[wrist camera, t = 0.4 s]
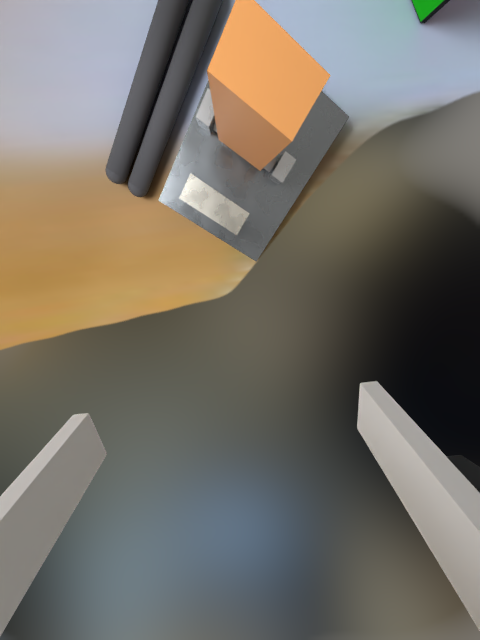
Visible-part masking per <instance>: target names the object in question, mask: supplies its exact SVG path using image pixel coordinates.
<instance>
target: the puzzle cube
mask: <svg viewBox="0 0 480 640" xmlns="http://www.w3.org/2000/svg"><path fill="white" fill-rule="evenodd" d="M448 1H450V0H412V2H413V5H414V7H415V10H416V12H417V15H418V17H419V20H420V22H421V23H425V22H426V21H427V20H428V19H430V18H431V17H432V16H433V15H434V14H435V13H436V12H437V11H438V10H440V9H441V8H442V7H443V6H444V5H445V4H446V3H447V2H448Z"/></svg>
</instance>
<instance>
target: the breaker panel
mask: <svg viewBox="0 0 480 640" xmlns="http://www.w3.org/2000/svg"><path fill="white" fill-rule="evenodd" d="M348 118H349V116H347V115H346V114H345V113H344V112H343V111H342V110H341V109H340V108H339V107H338V106H337V105H336V104H335V103H334V102H333V101H332V100H331V99H329V98H328V97H327V96H326V95H325V94H324V93H323V92H322V91H321V92H320V94H319V96H318V98H317V99H316V101H315V103H314V104H313V106H312V108H311V110H310V111H309V113H308V115H307V117H306V118H305V120H304V122H303V123H302V125H301V127H300V129H299V130H298V132H297V134H296V136H295V137H294V139H293V141H292V142H291V143H290V144H289V145H288V146H287V147H286V148H284V149H283V150H282V151H281V152H280V153H279V154H278V155H279V157H278V159H277V161H276V163H275V165H274V166H273V168H272V169H271V171H270V172H268V171H267V170H265V169H264V168H263V169H262V170H261V171H259V170H258V169H257V168H255V167H254V166H253V165H251V164H250V163H249V162H247V161H246V160H245V159H244V158H242V157H241V156H240V155H238V154H237V153H236V152H234V151H233V150H232V149H230V148H229V147H228V146H226V145H225V144H224V143H222V142H221V141H220V140H218V134H217V132H215V131H214V130H213V127H214V124H215V116H214V110H213V104H212V98H211V92H210V86H209V80H208V83H207V85H206V87H205V90H204V92H203V95H202V97H201V99H200V102H199V104H198V107H197V109H196V111H195V114H194V116H193V119H192V121H191V123H190V126H189V128H188V131H187V133H186V135H185V138H184V140H183V143H182V145H181V148H180V150H179V152H178V155H177V157H176V160H175V162H174V164H173V167H172V169H171V172H170V174H169V176H168V179H167V181H166V184H165V186H164V188H163V191H162V193H161V196H160V198H159V201H160V202H162V203H163V204H165V205H167V206H168V207H170V208H171V209H173V210H175V211H176V212H178V213H179V214H181V215H183V216H184V217H186V218H187V219H189V220H191V221H192V222H194V223H195V224H197V225H199V226H200V227H202V228H203V229H205V230H207V231H208V232H210V233H211V234H213V235H215V236H216V237H218V238H219V239H221V240H223V241H224V242H226V243H227V244H229V245H231V246H232V247H234V248H235V249H237V250H239V251H240V252H242V253H243V254H245V255H247V256H248V257H250V258H251V259H253V260H255V261H257V260H258V258H259V257H260V255H261V254H262V252H263V250H264V249H265V247H266V246H267V244H268V243H269V241H270V239H271V238H272V236H273V235H274V233H275V232H276V230H277V229H278V227H279V225H280V224H281V222H282V221H283V219H284V218H285V216H286V214H287V213H288V211H289V210H290V208H291V207H292V205H293V204H294V202H295V200H296V199H297V197H298V196H299V194H300V193H301V191H302V189H303V188H304V186H305V185H306V183H307V182H308V180H309V179H310V177H311V175H312V174H313V172H314V171H315V169H316V168H317V166H318V164H319V163H320V161H321V160H322V158H323V157H324V155H325V154H326V152H327V150H328V149H329V147H330V146H331V144H332V143H333V141H334V139H335V138H336V136H337V135H338V133H339V132H340V130H341V129H342V127H343V125H344V124H345V122H346V121H347V119H348Z"/></svg>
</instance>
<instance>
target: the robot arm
mask: <svg viewBox="0 0 480 640" xmlns="http://www.w3.org/2000/svg"><path fill="white" fill-rule="evenodd" d="M357 429H358V430H359V432H360V433H361V435H362V437H363V438H364V440H365V442H366V443H367V445H368V447H369V448H370V450H371V452H372V453H373V455H374V457H375V458H376V460H377V461H378V463H379V465H380V467H381V468H382V470H383V472H384V473H385V475H386V477H387V478H388V480H389V481H390V483H391V485H392V486H393V488H394V490H395V491H396V493H397V495H398V496H399V498H400V500H401V501H402V503H403V505H404V506H405V508H406V510H407V511H408V513H409V514H410V516H411V518H412V520H413V521H414V523H415V525H416V526H417V528H418V530H419V531H420V533H421V534H422V536H423V538H424V539H425V541H426V543H427V544H428V546H429V548H430V549H431V551H432V553H433V554H434V556H435V558H436V559H437V561H438V563H439V564H440V566H441V568H442V569H443V571H444V573H445V574H446V576H447V578H448V579H449V581H450V582H451V584H452V586H453V587H454V589H455V591H456V592H457V594H458V596H459V597H460V599H461V601H462V602H463V604H464V606H465V607H466V609H467V610H468V612H469V614H470V616H471V617H472V619H473V620H474V622H475V624H476V625H477V627H478V629H479V631H480V467H478V466H477V465H475V464H473V463H472V462H471V461H469V460H468V459H466V458H465V457H463V456H462V455H457V456H447V457H446V456H445V455H444V454H443V453H442V452H441V450H440V449H439V448H438V447H437V446H436V445H435V444H434V443H433V442H432V441H431V440H430V438H429V437H428V436H427V435H426V434H425V433H424V432H423V431H422V430H421V429H420V428H419V427H418V425H417V424H416V423H415V422H414V421H413V420H412V419H411V418H410V417H409V416H408V415H407V413H406V412H405V411H404V410H403V409H402V408H401V407H400V406H399V405H398V404H397V403H396V402H395V400H393V398H392V397H391V396H390V395H389V394H388V393H387V392H386V391H385V390H384V389H383V388H382V386H381V385H380V384H379V383H378V382H377V381H375V382H366V383H360V393H359V409H358V424H357ZM106 454H107V453H106V451H105V448H104V446H103V444H102V442H101V440H100V437H99V435H98V433H97V431H96V429H95V426H94V424H93V422H92V420H91V417H90V415H89V413H85V414H76V415H73V416H72V417H71V418H70V419H69V420H68V421H67V422H66V424H65V425H64V426H63V427H62V428H61V429H60V430H59V432H58V433H57V434H56V435H55V436H54V437H53V438H52V439H51V440H50V441H49V443H48V444H47V445H46V446H45V447H44V448H43V449H42V451H41V452H40V453H39V454H38V455H37V456H36V457H35V458H34V460H33V461H32V462H31V463H30V464H29V465H28V466H27V467H26V468H25V469H24V471H23V472H22V473H21V474H20V475H19V476H18V477H17V479H16V480H15V481H14V482H13V483H12V484H11V485H10V486H9V487H8V488H7V490H6V491H5V492H4V493H3V494H2V495H1V496H0V636H1V634H2V632H3V630H4V629H5V627H6V625H7V623H8V622H9V620H10V619H11V617H12V615H13V613H14V612H15V610H16V608H17V607H18V605H19V603H20V602H21V600H22V598H23V596H24V595H25V593H26V591H27V590H28V588H29V586H30V584H31V583H32V581H33V579H34V577H35V576H36V574H37V573H38V571H39V569H40V567H41V566H42V564H43V562H44V561H45V559H46V557H47V555H48V554H49V552H50V550H51V549H52V547H53V545H54V544H55V542H56V540H57V538H58V537H59V535H60V533H61V531H62V530H63V528H64V526H65V525H66V523H67V521H68V520H69V518H70V516H71V515H72V513H73V511H74V509H75V508H76V506H77V504H78V503H79V501H80V499H81V497H82V496H83V494H84V492H85V491H86V489H87V487H88V486H89V484H90V482H91V480H92V479H93V477H94V475H95V474H96V471H97V470H98V468H99V466H100V465H101V463H102V462H103V460H104V458H105V456H106Z"/></svg>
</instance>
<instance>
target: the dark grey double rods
mask: <svg viewBox="0 0 480 640" xmlns="http://www.w3.org/2000/svg"><path fill="white" fill-rule="evenodd" d="M188 2H189V0H158V3H157V6H156V9H155V13H154V16H153V19H152V22H151V25H150V29H149V32H148V35H147V38H146V41H145V44H144V48H143V51H142V54H141V57H140V60H139V64H138V67H137V70H136V73H135V76H134V80H133V83H132V86H131V89H130V92H129V96H128V99H127V102H126V105H125V108H124V111H123V115H122V118H121V121H120V124H119V127H118V131H117V134H116V137H115V140H114V143H113V147H112V150H111V153H110V156H109V159H108V163H107V166H106V174H107V177H108V178H109V179H110V180H111V181H112V182H113V183H116V184H122V183H124V182H125V181H126V179H127V176H128V173H129V170H130V168H131V165H132V162H133V159H134V156H135V153H136V150H137V148H138V145H139V142H140V139H141V136H142V133H143V131H144V128H145V125H146V122H147V119H148V116H149V113H150V111H151V108H152V105H153V102H154V99H155V96H156V94H157V91H158V88H159V85H160V82H161V79H162V76H163V74H164V71H165V68H166V65H167V62H168V59H169V57H170V54H171V51H172V48H173V45H174V42H175V39H176V37H177V34H178V31H179V28H180V25H181V22H182V20H183V17H184V14H185V11H186V8H187V5H188ZM221 3H222V0H193V1H192V4H191V7H190V10H189V13H188V16H187V18H186V21H185V24H184V27H183V30H182V32H181V35H180V38H179V41H178V44H177V46H176V49H175V52H174V55H173V58H172V60H171V63H170V66H169V69H168V72H167V75H166V77H165V80H164V83H163V86H162V89H161V91H160V94H159V97H158V100H157V103H156V105H155V108H154V111H153V114H152V117H151V119H150V122H149V125H148V128H147V131H146V134H145V136H144V139H143V142H142V145H141V148H140V150H139V153H138V156H137V159H136V162H135V164H134V167H133V170H132V173H131V176H130V178H129V181H128V187H129V190H130V192H131V193H132V194H133V195H135V196H137V197H143V196H145V195H146V194H147V192H148V190H149V187H150V184H151V182H152V179H153V177H154V174H155V172H156V169H157V167H158V164H159V162H160V159H161V156H162V154H163V151H164V149H165V146H166V144H167V141H168V139H169V136H170V134H171V131H172V128H173V126H174V123H175V121H176V118H177V116H178V113H179V111H180V108H181V106H182V103H183V100H184V98H185V95H186V93H187V90H188V88H189V85H190V83H191V80H192V78H193V75H194V72H195V70H196V67H197V65H198V62H199V60H200V57H201V55H202V52H203V50H204V47H205V44H206V42H207V39H208V37H209V34H210V32H211V29H212V27H213V24H214V22H215V19H216V16H217V14H218V11H219V9H220V6H221Z"/></svg>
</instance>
